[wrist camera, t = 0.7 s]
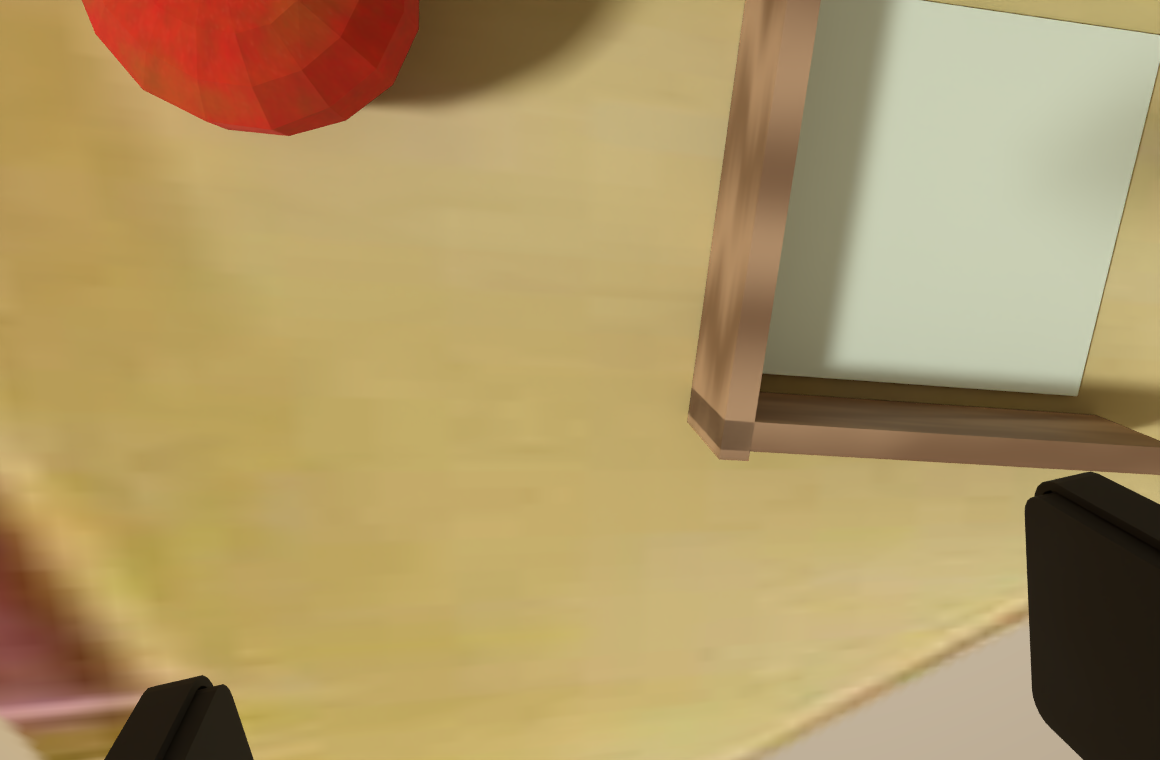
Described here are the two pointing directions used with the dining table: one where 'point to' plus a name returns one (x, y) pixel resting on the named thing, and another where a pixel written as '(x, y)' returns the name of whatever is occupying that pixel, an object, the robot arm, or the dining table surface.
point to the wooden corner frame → (746, 294)
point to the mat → (956, 195)
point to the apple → (260, 56)
